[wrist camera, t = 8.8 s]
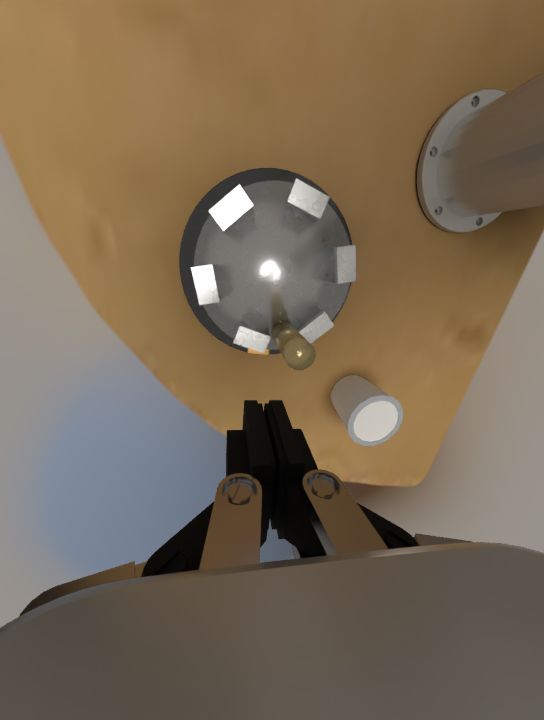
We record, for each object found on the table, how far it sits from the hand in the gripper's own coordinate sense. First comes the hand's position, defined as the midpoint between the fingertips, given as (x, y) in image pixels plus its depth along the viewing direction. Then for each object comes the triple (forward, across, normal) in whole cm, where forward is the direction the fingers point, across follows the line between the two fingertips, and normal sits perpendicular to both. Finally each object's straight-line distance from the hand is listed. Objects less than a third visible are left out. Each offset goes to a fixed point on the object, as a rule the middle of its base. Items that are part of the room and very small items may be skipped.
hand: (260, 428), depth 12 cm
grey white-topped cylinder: (+21, -16, +10) cm, 28 cm away
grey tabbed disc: (+19, -3, -6) cm, 20 cm away
